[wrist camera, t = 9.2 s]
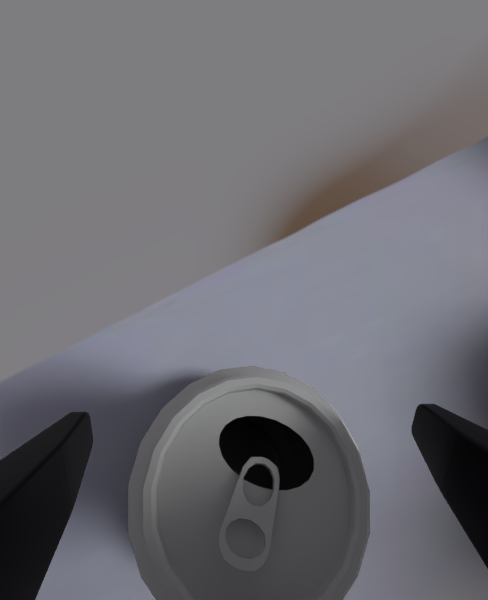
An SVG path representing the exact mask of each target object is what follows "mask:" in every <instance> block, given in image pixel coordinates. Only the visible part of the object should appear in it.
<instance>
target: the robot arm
mask: <svg viewBox="0 0 488 600" xmlns="http://www.w3.org/2000/svg"><path fill="white" fill-rule="evenodd" d="M412 435H413V437H414V440H415V442H416V444H417V446H418V448H419V450H420V452H421V454H422V456H423V458H424V460H425V462H426V464H427V466H428V468H429V470H430V472H431V474H432V476H433V478H434V480H435V482H436V484H437V485H438V487H439V489H440V491H441V493H442V494H443V496H444V498H445V500H446V501H447V503H448V504H449V506H450V508H451V509H452V511H453V513H454V514H455V516H456V518H457V519H458V521H459V522H460V524H461V526H462V527H463V529H464V531H465V532H466V534H467V536H468V537H469V539H470V540H471V542H472V544H473V545H474V547H475V549H476V550H477V552H478V554H479V555H480V557H481V558H482V560H483V562H484V563H485V565H486V567H487V568H488V430H487V429H485V428H483V427H480V426H478V425H476V424H474V423H472V422H470V421H468V420H466V419H464V418H462V417H460V416H458V415H456V414H454V413H452V412H450V411H448V410H446V409H444V408H442V407H440V406H437V405H435V404H420V405H418V407H417V409H416V412H415V416H414V420H413V424H412ZM92 443H93V435H92V428H91V421H90V416H89V414H88V413H87V412H72V413H69V414H68V415H66V416H65V417H63V418H62V419H60V420H59V421H57V422H56V423H54V424H53V425H52V426H50V427H49V428H47V429H46V430H44V431H43V432H41V433H40V434H38V435H37V436H35V437H34V438H32V439H31V440H29V441H28V442H27V443H25V444H24V445H22V446H21V447H19V448H18V449H16V450H15V451H13V452H12V453H10V454H9V455H7V456H6V457H4V458H3V459H2V460H0V600H35V599H36V596H37V594H38V591H39V589H40V587H41V584H42V582H43V580H44V577H45V575H46V572H47V570H48V568H49V565H50V563H51V560H52V558H53V556H54V553H55V551H56V548H57V546H58V544H59V541H60V539H61V536H62V534H63V532H64V529H65V527H66V525H67V522H68V520H69V517H70V515H71V512H72V510H73V507H74V504H75V501H76V498H77V494H78V491H79V488H80V484H81V481H82V478H83V475H84V471H85V468H86V465H87V461H88V458H89V455H90V451H91V448H92Z"/></svg>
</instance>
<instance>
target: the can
mask: <svg viewBox="0 0 488 600" xmlns="http://www.w3.org/2000/svg"><path fill="white" fill-rule="evenodd" d="M128 533H129V537H130V540H131V544H132V547H133V551H134V554H135V558H136V561H137V565H138V568H139V572H140V575H141V578H142V579H143V581H144V582H145V584H146V585H147V587H148V588H149V590H150V591H151V593H152V594H153V596H154V597H155V599H156V600H343V598H344V597H345V595H346V594H347V592H348V590H349V589H350V587H351V586H352V584H353V583H354V581H355V580H356V578H357V577H358V574H359V570H360V566H361V563H362V559H363V556H364V552H365V548H366V545H367V541H368V538H369V534H370V495H369V487H368V483H367V479H366V476H365V472H364V468H363V464H362V461H361V457H360V453H359V449H358V446H357V444H356V443H355V441H354V439H353V437H352V436H351V434H350V432H349V430H348V429H347V427H346V425H345V423H344V422H343V420H342V418H341V416H340V415H339V413H338V412H337V411H336V410H335V409H334V408H333V407H332V406H331V405H330V404H329V403H328V402H327V401H326V400H325V399H324V398H323V397H322V396H321V395H320V394H319V393H318V392H317V391H316V390H315V389H314V388H312V387H310V386H308V385H307V384H305V383H303V382H301V381H299V380H297V379H296V378H294V377H292V376H290V375H288V374H286V373H285V372H280V371H275V370H270V369H265V368H260V367H255V366H248V367H240V368H232V369H223V370H219V371H216V372H214V373H212V374H210V375H208V376H206V377H203V378H201V379H199V380H197V381H195V382H192V383H190V384H189V385H187V386H186V387H185V388H184V389H183V390H182V391H181V392H180V393H178V394H177V395H176V396H175V397H174V398H173V399H172V400H171V401H169V402H168V403H167V404H166V405H165V406H164V407H163V408H162V409H161V410H160V412H159V414H158V415H157V417H156V418H155V420H154V422H153V423H152V425H151V426H150V428H149V430H148V431H147V433H146V434H145V436H144V438H143V439H142V441H141V443H140V446H139V449H138V453H137V456H136V460H135V463H134V466H133V470H132V473H131V477H130V480H129V483H128Z"/></svg>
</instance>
